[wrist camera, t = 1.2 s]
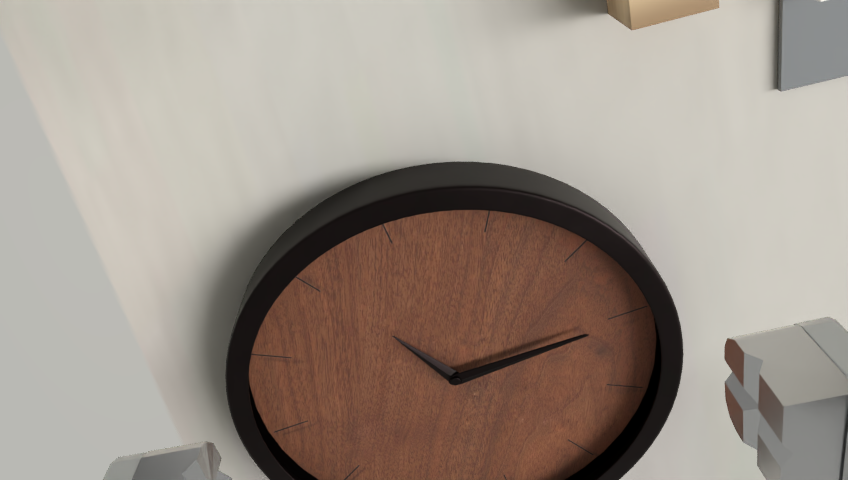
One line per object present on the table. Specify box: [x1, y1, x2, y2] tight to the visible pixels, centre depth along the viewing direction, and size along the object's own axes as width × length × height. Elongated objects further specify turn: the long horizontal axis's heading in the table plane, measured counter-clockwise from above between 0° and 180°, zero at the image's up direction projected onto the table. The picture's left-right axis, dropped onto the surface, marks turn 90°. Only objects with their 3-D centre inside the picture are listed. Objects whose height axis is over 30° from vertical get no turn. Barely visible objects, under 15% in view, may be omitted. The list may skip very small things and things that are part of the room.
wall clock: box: [226, 162, 683, 480], centre depth 50 cm, size 31×4×31 cm
